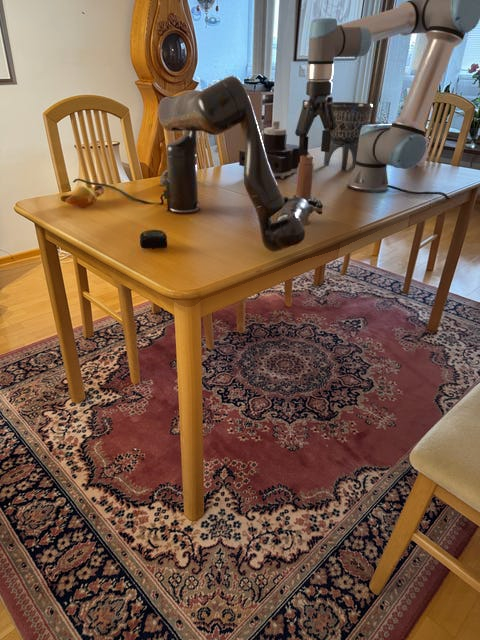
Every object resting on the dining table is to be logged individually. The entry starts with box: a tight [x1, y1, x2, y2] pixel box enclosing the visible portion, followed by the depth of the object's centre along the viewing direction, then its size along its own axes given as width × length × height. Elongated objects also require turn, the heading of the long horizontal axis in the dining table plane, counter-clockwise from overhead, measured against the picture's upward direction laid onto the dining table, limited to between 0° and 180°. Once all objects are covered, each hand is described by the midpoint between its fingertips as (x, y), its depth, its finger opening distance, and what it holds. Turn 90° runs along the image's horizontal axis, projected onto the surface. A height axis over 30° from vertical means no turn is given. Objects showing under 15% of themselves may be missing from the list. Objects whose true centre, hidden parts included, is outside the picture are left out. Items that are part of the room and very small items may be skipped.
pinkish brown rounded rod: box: [295, 154, 315, 225], centre depth 134 cm, size 4×4×19 cm
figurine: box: [415, 136, 430, 167], centre depth 213 cm, size 8×15×13 cm, turn 145°
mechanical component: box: [238, 120, 311, 179], centre depth 191 cm, size 22×21×30 cm
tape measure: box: [139, 229, 168, 250], centre depth 117 cm, size 7×7×4 cm
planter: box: [323, 101, 374, 172], centre depth 204 cm, size 20×20×26 cm
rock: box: [159, 168, 168, 187], centre depth 175 cm, size 13×9×6 cm, turn 131°
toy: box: [60, 185, 105, 208], centre depth 150 cm, size 11×6×15 cm
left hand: (304, 198), depth 138 cm, fingers open, 4 cm apart
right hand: (314, 155), depth 146 cm, fingers open, 13 cm apart
